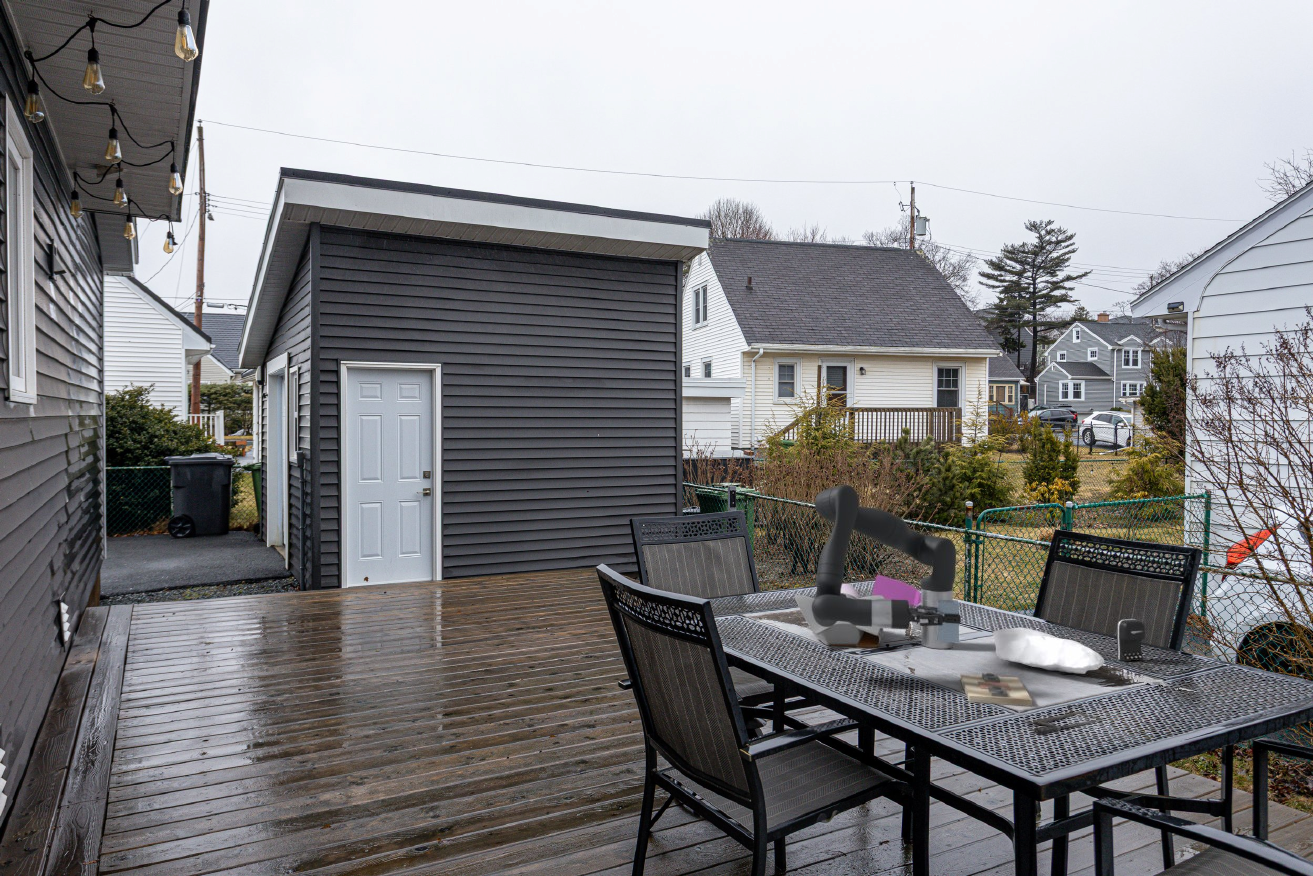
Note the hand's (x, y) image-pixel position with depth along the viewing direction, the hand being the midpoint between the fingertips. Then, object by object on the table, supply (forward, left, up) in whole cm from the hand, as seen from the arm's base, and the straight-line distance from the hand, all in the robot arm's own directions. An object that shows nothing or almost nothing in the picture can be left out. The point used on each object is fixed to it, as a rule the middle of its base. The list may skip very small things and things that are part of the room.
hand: (959, 617), depth 206 cm
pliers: (-10, +50, -18) cm, 54 cm away
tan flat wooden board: (+3, +8, -18) cm, 20 cm away
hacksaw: (+20, +19, -18) cm, 33 cm away
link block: (0, -3, -6) cm, 7 cm away
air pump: (-85, -19, -18) cm, 89 cm away
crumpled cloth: (-25, +26, -18) cm, 40 cm away
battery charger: (-36, +50, -18) cm, 64 cm away
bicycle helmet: (-41, -31, -18) cm, 55 cm away
